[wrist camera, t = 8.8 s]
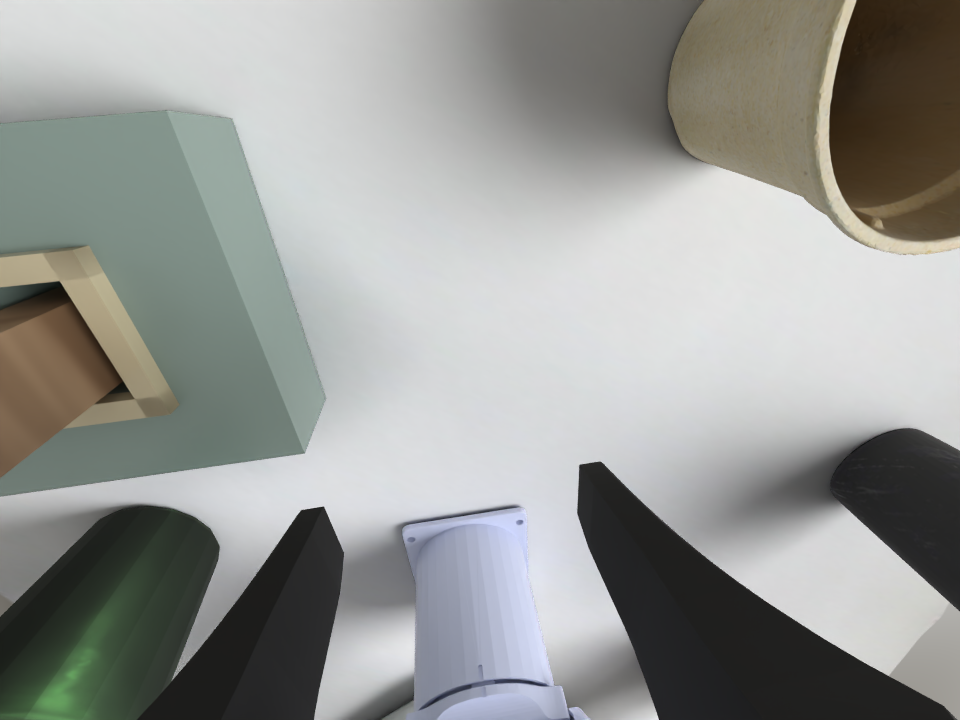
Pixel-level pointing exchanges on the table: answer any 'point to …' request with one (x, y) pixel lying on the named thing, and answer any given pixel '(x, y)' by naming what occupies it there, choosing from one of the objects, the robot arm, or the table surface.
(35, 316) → the brown wooden block
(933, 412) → the table surface
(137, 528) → the potion bottle
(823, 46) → the flower pot
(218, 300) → the sage green square pedestal
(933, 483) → the travel mug
